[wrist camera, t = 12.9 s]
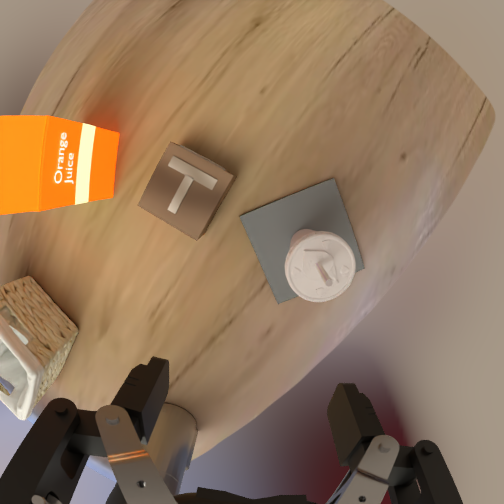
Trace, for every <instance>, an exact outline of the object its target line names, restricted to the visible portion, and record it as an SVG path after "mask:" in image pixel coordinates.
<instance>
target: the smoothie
mask: <svg viewBox="0 0 504 504" xmlns="http://www.w3.org/2000/svg"><path fill="white" fill-rule="evenodd" d="M355 269H356V262H355V257H354V254H353V251H352V249H351V248H350V246H349V245H348V244H347V242H346V241H344V240H343V239H342V238H341V237H340V236H338V235H336V234H334V233H332V232H326V231H314V230H310V229H302V230H299V231H297V232H296V233H295V234H294V235H293V237H292V239H291V243H290V250H289V252H288V254H287V256H286V261H285V275H286V278H287V280H288V283H289V285H290V287H291V288H292V290H293V291H294V292H295V293H296V294H297V295H298V296H300V297H301V298H303V299H305V300H308V301H312V302H325V301H329V300H332V299H334V298H336V297H338V296H339V295H341V294H342V293H343V292H344V291H345V290H346V289H347V288H348V287H349V285H350V284H351V282H352V280H353V277H354V274H355Z"/></svg>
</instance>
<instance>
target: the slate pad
mask: <svg viewBox="0 0 504 504" xmlns="http://www.w3.org/2000/svg"><path fill="white" fill-rule="evenodd" d="M240 219H241V221H242V223H243V226H244V228H245V230H246V232H247V235H248V237H249V239H250V241H251V244H252V246H253V248H254V251H255V253H256V255H257V257H258V260H259V262H260V264H261V266H262V269H263V271H264V273H265V276H266V278H267V280H268V282H269V285H270V287H271V289H272V291H273V294H274V296H275V298H276V301H277V303H278V304H279V303H282V302H285V301H287V300H290V299H292V298H295V297H297V296H298V295H297V294H296V293H295V292H294V291H293V290H292V288H291V287H290V285H289V283H288V280H287V278H286V275H285V261H286V256H287V254H288V252H289V250H290V243H291V239H292V237H293V235H294V234H295V233H296V232H297V231H299V230H302V229H310V230H314V231H326V232H332V233H334V234H336V235H338V236H340V237H341V238H342V239H343V240H344V241H346V242H347V244H348V245H349V246H350V248H351V249H352V251H353V254H354V257H355V262H356V269H355V272H358V271H360V270H362V269H364V265H363V262H362V258H361V255H360V252H359V249H358V245H357V242H356V239H355V236H354V233H353V230H352V227H351V224H350V221H349V218H348V215H347V213H346V210H345V207H344V204H343V201H342V199H341V196H340V193H339V191H338V188H337V185H336V183H335V180H334V178H332V179H330V180H327V181H324V182H322V183H319V184H317V185H314V186H312V187H309V188H307V189H304V190H302V191H299V192H297V193H294V194H292V195H289V196H287V197H284V198H282V199H279V200H277V201H275V202H272V203H270V204H267V205H265V206H263V207H260V208H258V209H255V210H253V211H251V212H248V213H246V214H244V215H241V216H240Z"/></svg>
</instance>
